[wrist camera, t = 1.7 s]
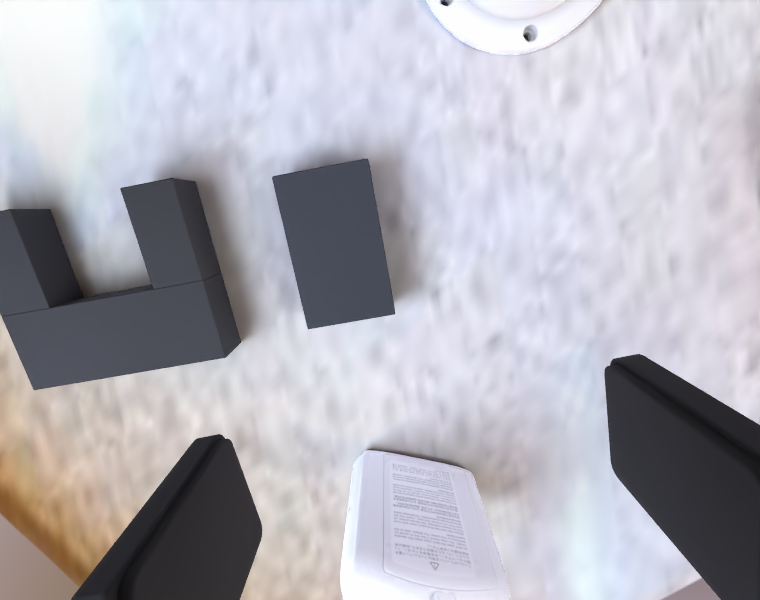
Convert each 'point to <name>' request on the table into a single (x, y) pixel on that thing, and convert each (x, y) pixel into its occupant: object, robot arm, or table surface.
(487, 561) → the photo printer
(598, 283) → the table surface
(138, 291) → the base pad
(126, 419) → the table surface
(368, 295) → the pad
